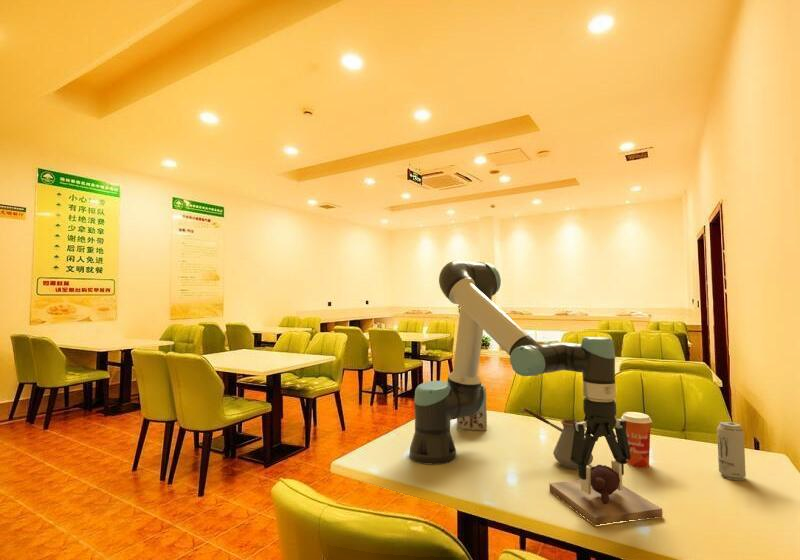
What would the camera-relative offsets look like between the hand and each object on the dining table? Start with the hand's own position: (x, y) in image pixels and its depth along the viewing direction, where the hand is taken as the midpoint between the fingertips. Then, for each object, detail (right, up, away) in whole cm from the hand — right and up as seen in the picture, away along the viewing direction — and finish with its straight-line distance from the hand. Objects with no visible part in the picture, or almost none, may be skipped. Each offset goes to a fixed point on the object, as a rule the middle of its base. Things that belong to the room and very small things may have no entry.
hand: (601, 489), depth 103 cm
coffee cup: (+23, -5, +24) cm, 34 cm away
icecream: (0, 0, -1) cm, 1 cm away
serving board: (0, -3, 0) cm, 3 cm away
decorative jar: (-21, -7, +64) cm, 67 cm away
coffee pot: (-1, -5, +27) cm, 28 cm away
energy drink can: (+45, -4, +15) cm, 47 cm away
